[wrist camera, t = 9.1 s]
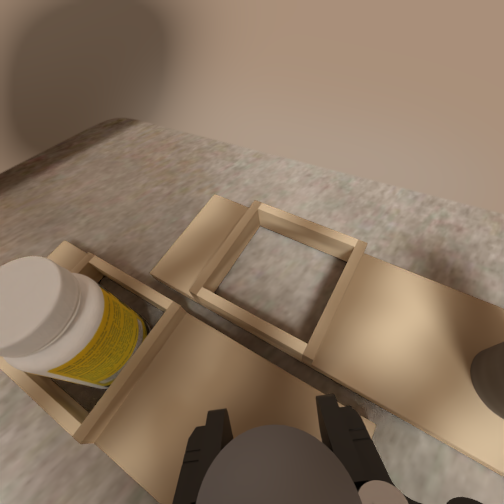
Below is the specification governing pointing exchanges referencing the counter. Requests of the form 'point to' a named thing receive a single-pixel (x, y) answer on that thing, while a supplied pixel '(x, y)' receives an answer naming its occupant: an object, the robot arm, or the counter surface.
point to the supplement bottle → (64, 324)
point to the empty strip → (367, 327)
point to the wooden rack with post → (199, 410)
